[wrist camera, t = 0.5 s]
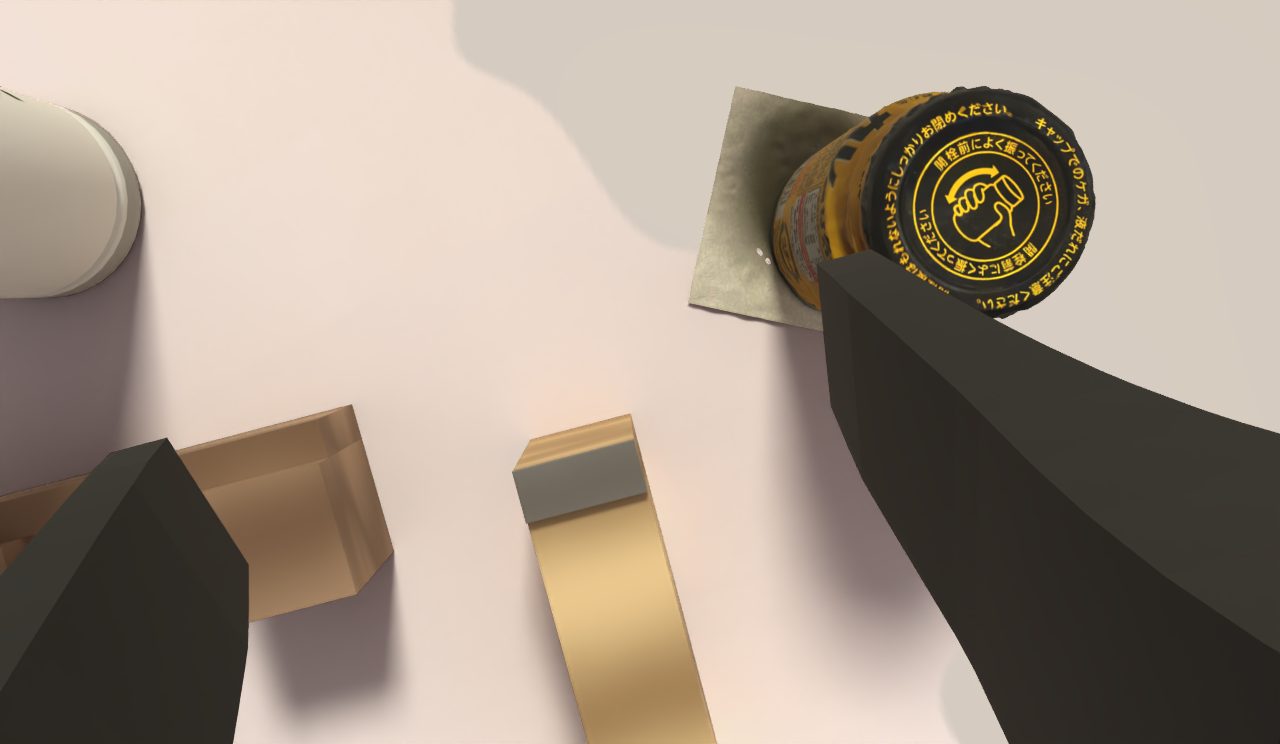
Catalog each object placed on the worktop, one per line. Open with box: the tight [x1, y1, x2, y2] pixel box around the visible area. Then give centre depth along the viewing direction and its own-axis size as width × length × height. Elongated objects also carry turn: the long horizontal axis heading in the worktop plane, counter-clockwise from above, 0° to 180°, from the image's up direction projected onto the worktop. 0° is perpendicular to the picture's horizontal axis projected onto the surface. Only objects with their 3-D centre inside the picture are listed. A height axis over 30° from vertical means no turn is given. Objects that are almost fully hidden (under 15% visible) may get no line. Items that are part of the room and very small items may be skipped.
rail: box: [512, 414, 717, 744], centre depth 32 cm, size 15×4×6 cm, turn 15°
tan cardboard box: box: [0, 405, 394, 622], centre depth 32 cm, size 5×14×5 cm, turn 105°
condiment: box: [688, 86, 1095, 332], centre depth 28 cm, size 7×8×12 cm
